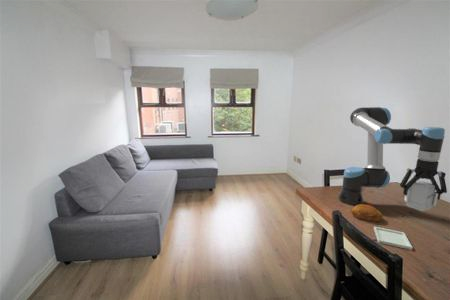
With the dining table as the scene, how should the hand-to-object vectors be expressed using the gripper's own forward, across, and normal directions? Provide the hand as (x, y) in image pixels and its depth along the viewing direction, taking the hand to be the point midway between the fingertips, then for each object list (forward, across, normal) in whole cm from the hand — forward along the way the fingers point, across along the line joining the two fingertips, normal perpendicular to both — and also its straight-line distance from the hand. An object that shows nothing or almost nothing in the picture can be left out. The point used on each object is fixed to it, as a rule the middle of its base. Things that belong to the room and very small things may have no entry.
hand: (419, 203), depth 107 cm
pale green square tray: (+18, -11, -8) cm, 23 cm away
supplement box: (+3, 0, 0) cm, 3 cm away
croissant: (+18, -19, +13) cm, 29 cm away
